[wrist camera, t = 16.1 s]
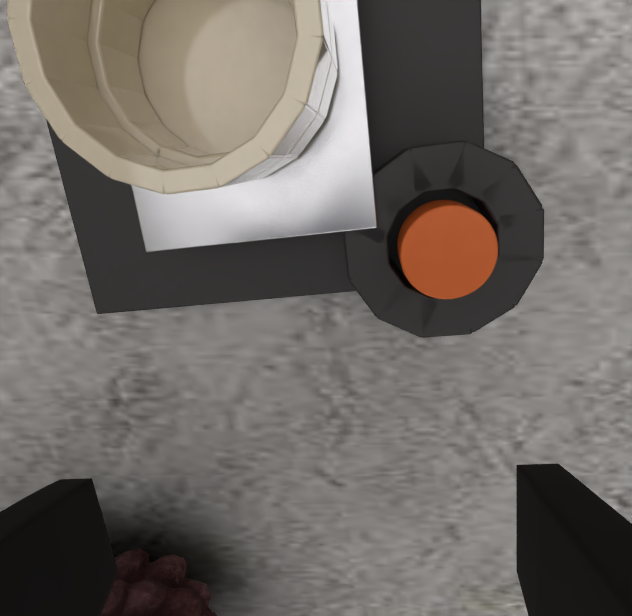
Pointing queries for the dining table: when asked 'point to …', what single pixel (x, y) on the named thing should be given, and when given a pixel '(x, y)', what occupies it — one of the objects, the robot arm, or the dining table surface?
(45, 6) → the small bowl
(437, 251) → the button
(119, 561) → the pine cone
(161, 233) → the scale platform
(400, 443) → the dining table surface
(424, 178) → the scale
